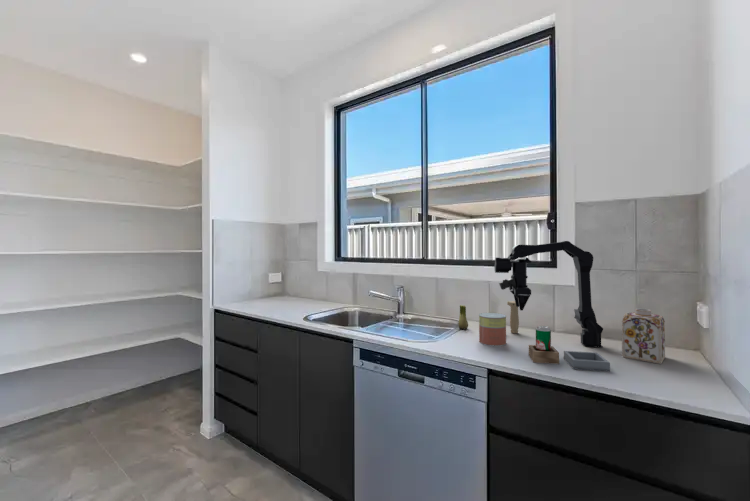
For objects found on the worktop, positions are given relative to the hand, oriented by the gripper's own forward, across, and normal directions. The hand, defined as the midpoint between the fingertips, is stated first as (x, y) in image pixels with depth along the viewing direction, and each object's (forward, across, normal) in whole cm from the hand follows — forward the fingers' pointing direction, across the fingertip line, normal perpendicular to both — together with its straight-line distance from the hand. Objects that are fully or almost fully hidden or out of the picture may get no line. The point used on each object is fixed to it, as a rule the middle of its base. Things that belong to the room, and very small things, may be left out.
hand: (519, 308), depth 150 cm
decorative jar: (+15, +13, +41) cm, 46 cm away
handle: (+15, -16, 0) cm, 22 cm away
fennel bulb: (+15, -20, -24) cm, 34 cm away
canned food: (+15, +4, -12) cm, 19 cm away
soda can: (+15, +24, +4) cm, 28 cm away
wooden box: (+15, +24, +4) cm, 28 cm away
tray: (+14, +27, +17) cm, 35 cm away
